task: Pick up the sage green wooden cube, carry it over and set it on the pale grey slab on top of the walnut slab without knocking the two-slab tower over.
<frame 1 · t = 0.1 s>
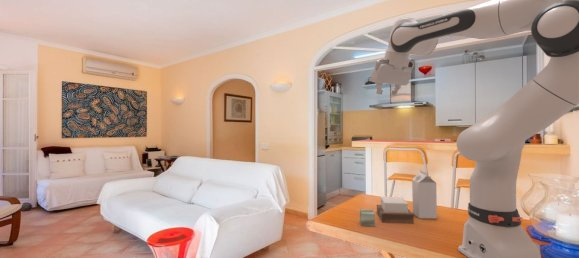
hand: (386, 94, 110), 52 cm above the table, tool tilted 20°, fingers open, 8 cm apart
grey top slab: (393, 209, 110), point 3 cm above the table, touching walnut base slab
sage cube: (367, 223, 104), on the table
milk carton: (424, 216, 111), on the table
walnut base slab: (394, 218, 110), on the table, touching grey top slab
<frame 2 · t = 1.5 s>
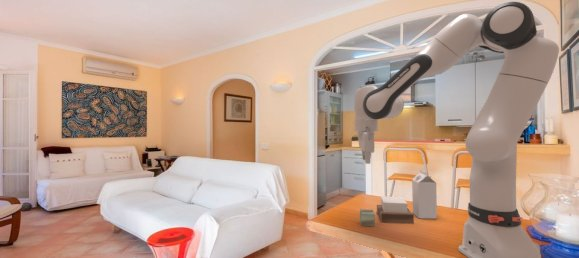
hand: (366, 161, 104), 25 cm above the table, tool pointing down, fingers open, 8 cm apart
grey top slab: (393, 209, 110), point 3 cm above the table
walnut base slab: (394, 218, 110), on the table
everything else where it was.
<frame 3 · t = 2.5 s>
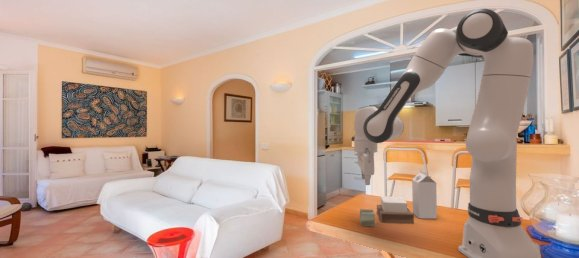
hand: (365, 181, 104), 17 cm above the table, tool pointing down, fingers open, 8 cm apart
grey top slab: (393, 209, 110), point 3 cm above the table, touching walnut base slab
walnut base slab: (394, 218, 110), on the table, touching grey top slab
everything else where it was.
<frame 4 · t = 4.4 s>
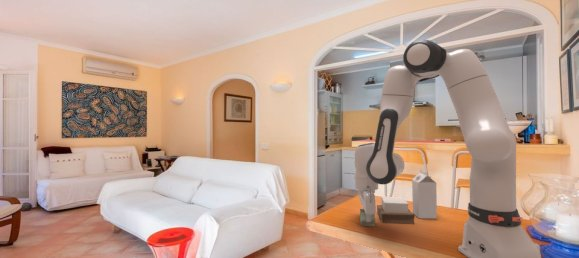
hand: (367, 218, 104), 2 cm above the table, tool pointing down, fingers closed on sage cube, 5 cm apart
sage cube: (367, 223, 104), on the table, touching gripper
everything else where it was.
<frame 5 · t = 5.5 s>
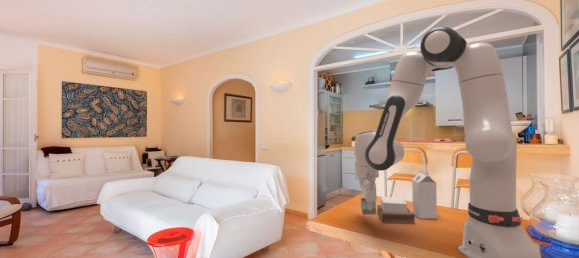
hand: (368, 207, 103), 7 cm above the table, tool pointing down, fingers closed on sage cube, 5 cm apart
sage cube: (368, 212, 103), point 5 cm above the table, touching gripper
everything else where it was.
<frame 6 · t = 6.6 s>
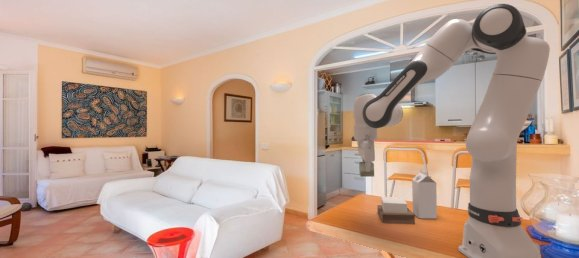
hand: (366, 169, 104), 22 cm above the table, tool pointing down, fingers closed on sage cube, 5 cm apart
sage cube: (366, 175, 104), point 19 cm above the table, touching gripper
everything else where it was.
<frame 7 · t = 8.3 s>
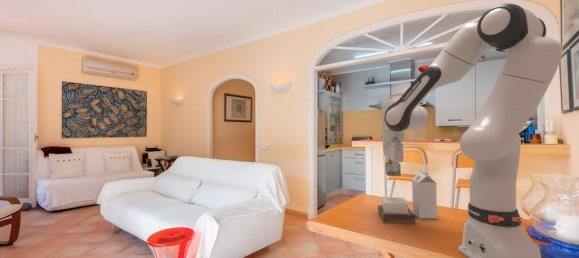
hand: (392, 169, 110), 20 cm above the table, tool pointing down, fingers closed on sage cube, 5 cm apart
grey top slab: (394, 209, 109), point 3 cm above the table
sage cube: (392, 174, 110), point 18 cm above the table, touching gripper
walnut base slab: (395, 219, 109), on the table
everything else where it was.
when the fingers open (12 cm above the table, at t = 10.1 s): sage cube drops 2 cm, resting on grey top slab.
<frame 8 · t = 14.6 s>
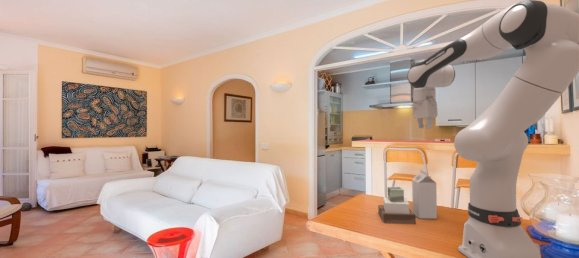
hand: (424, 128, 117), 37 cm above the table, tool pointing down, fingers open, 8 cm apart
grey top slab: (395, 209, 109), point 3 cm above the table, touching sage cube, walnut base slab
sage cube: (395, 200, 109), point 7 cm above the table, touching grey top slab
walnut base slab: (395, 219, 109), on the table, touching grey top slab
everything else where it was.
at the end: sage cube 0.3 cm off-centre on the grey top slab, point 4.0 cm above the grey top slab's base; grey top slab 0.2 cm off-centre on the walnut base slab, point 4.0 cm above the walnut base slab's base; the gripper is holding nothing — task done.
